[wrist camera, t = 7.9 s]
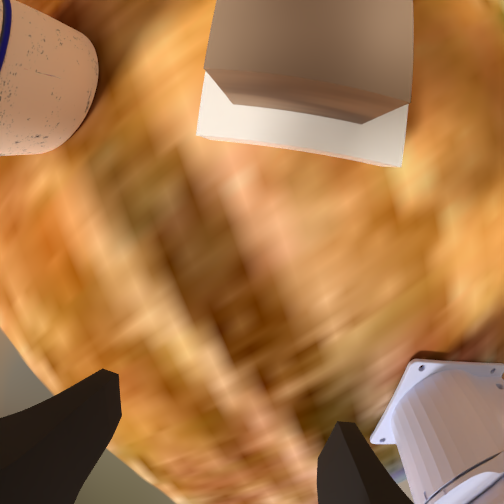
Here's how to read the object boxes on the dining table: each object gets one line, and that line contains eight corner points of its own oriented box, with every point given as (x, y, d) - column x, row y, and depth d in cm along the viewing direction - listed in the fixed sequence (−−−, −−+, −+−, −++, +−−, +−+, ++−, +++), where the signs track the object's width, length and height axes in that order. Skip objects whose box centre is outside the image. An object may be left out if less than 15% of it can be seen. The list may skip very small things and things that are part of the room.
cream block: (390, 22, 14) (410, -3, 10) (379, 166, 16) (401, 167, 13) (236, -3, 14) (226, -33, 11) (213, 140, 16) (196, 135, 13)
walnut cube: (370, 16, 11) (409, -44, 6) (361, 124, 12) (410, 102, 7) (250, -3, 11) (234, -73, 6) (232, 104, 13) (203, 68, 7)
